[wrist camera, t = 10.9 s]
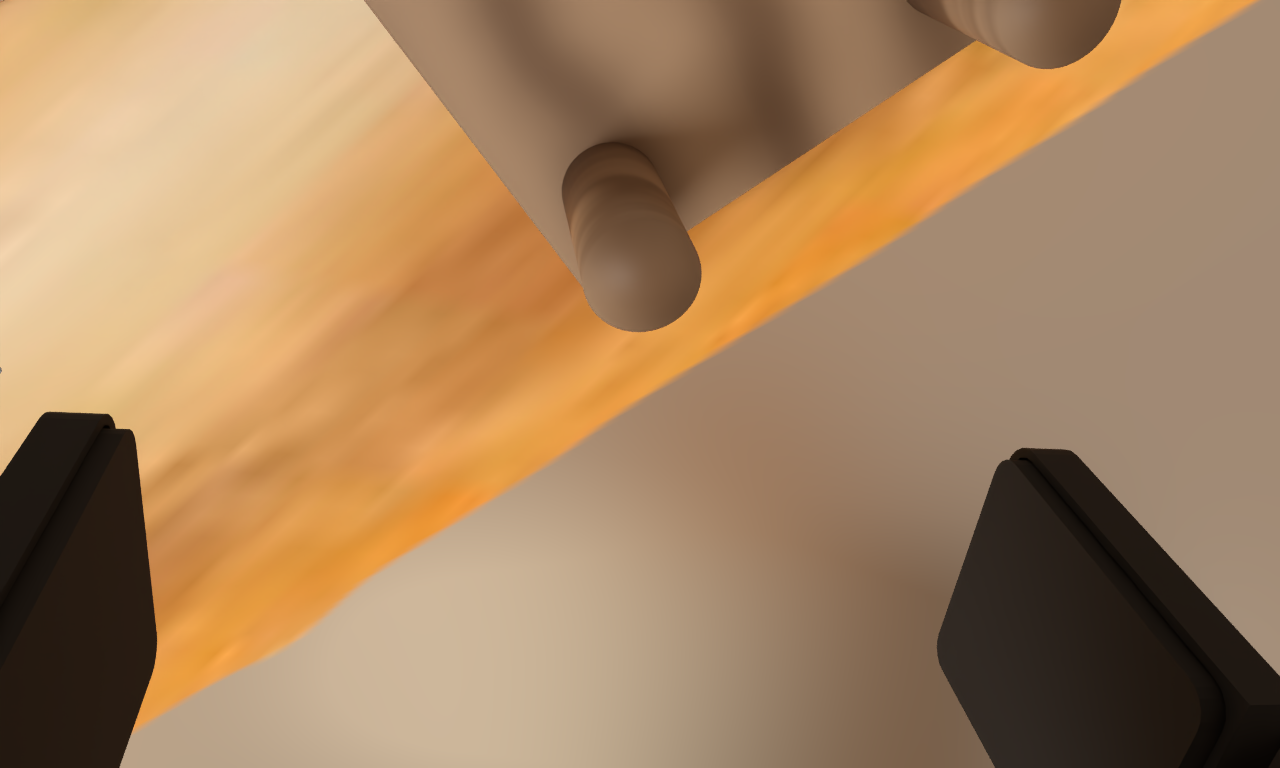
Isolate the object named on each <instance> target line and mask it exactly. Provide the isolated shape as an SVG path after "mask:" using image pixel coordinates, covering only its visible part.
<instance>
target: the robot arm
mask: <svg viewBox="0 0 1280 768" xmlns="http://www.w3.org/2000/svg"><path fill="white" fill-rule="evenodd" d="M1 1H3V0H0V2H1ZM156 651H157V632H156V623H155V614H154V604H153V595H152V586H151V577H150V568H149V559H148V550H147V541H146V531H145V522H144V513H143V504H142V495H141V486H140V477H139V468H138V458H137V449H136V442H135V437H134V434H133V432H132V431H131V430H130V429H116V428H115V423H114V421H113V419H112V417H111V416H110V415H109V414H93V413H66V412H46V413H44V414H43V415H42V416H41V417H40V418H39V420H38V421H37V423H36V424H35V426H34V427H33V429H32V430H31V432H30V433H29V435H28V436H27V438H26V439H25V441H24V442H23V444H22V445H21V446H20V448H19V449H18V451H17V452H16V454H15V455H14V457H13V458H12V460H11V461H10V463H9V464H8V466H7V467H6V469H5V470H4V472H3V473H2V475H1V476H0V768H119V767H120V764H121V761H122V758H123V755H124V753H125V750H126V747H127V744H128V741H129V738H130V736H131V733H132V730H133V727H134V724H135V721H136V718H137V716H138V713H139V710H140V707H141V704H142V701H143V698H144V696H145V693H146V690H147V687H148V684H149V681H150V679H151V676H152V672H153V669H154V664H155V659H156ZM937 652H938V659H939V663H940V666H941V668H942V670H943V672H944V674H945V676H946V678H947V679H948V681H949V683H950V685H951V687H952V689H953V691H954V693H955V694H956V696H957V698H958V700H959V702H960V704H961V705H962V707H963V709H964V711H965V713H966V715H967V717H968V718H969V720H970V722H971V724H972V726H973V728H974V729H975V731H976V733H977V735H978V737H979V739H980V740H981V742H982V744H983V746H984V748H985V750H986V752H987V753H988V755H989V757H990V759H991V760H992V763H993V764H994V766H995V768H1280V676H1279V675H1278V674H1277V673H1276V672H1275V671H1274V670H1273V668H1272V667H1271V666H1270V665H1269V664H1268V663H1267V662H1266V661H1265V660H1264V659H1263V658H1262V656H1261V655H1260V654H1259V653H1258V652H1257V651H1256V650H1255V649H1254V648H1253V647H1252V646H1251V645H1250V643H1249V642H1248V641H1247V640H1246V639H1245V638H1244V637H1243V636H1242V635H1241V634H1240V633H1239V631H1238V630H1236V628H1235V627H1234V626H1233V625H1232V624H1231V623H1230V622H1229V621H1228V619H1226V617H1225V616H1224V615H1223V614H1222V613H1221V612H1220V611H1219V610H1218V609H1217V607H1216V606H1215V605H1214V604H1213V603H1212V602H1211V601H1210V600H1209V599H1208V598H1207V597H1206V596H1205V594H1204V593H1203V592H1202V591H1201V590H1200V589H1199V588H1198V587H1197V586H1196V585H1195V584H1194V582H1193V581H1192V580H1191V579H1190V578H1189V577H1188V576H1187V575H1186V574H1185V573H1184V572H1183V570H1182V569H1181V568H1180V567H1179V566H1178V565H1177V564H1176V563H1175V562H1174V561H1173V560H1172V559H1171V558H1170V556H1169V555H1168V554H1167V553H1166V552H1165V551H1164V550H1163V549H1162V548H1161V547H1160V545H1159V544H1158V543H1157V542H1156V541H1155V540H1154V539H1153V538H1152V537H1151V536H1150V535H1149V534H1148V532H1147V531H1146V530H1145V529H1144V528H1143V527H1142V526H1141V525H1140V524H1139V523H1138V521H1137V520H1136V519H1135V518H1134V517H1133V516H1132V515H1131V514H1130V513H1129V512H1128V511H1127V509H1126V508H1125V507H1124V506H1123V505H1122V504H1121V503H1120V502H1119V501H1118V500H1117V499H1116V497H1115V496H1114V495H1113V494H1112V493H1111V492H1110V491H1109V490H1108V489H1107V488H1106V487H1105V486H1104V484H1103V483H1102V482H1101V481H1100V480H1099V479H1098V478H1097V477H1096V476H1095V475H1094V474H1093V472H1092V471H1091V470H1090V469H1089V468H1088V467H1087V466H1086V465H1085V464H1084V463H1083V462H1082V460H1081V459H1080V458H1079V457H1078V456H1077V455H1076V454H1074V453H1073V452H1072V451H1069V450H1062V449H1035V448H1021V449H1019V450H1017V451H1016V452H1015V453H1014V454H1013V455H1012V456H1011V458H1010V460H1005V461H1002V462H1001V463H1000V464H999V465H998V467H997V469H996V471H995V474H994V476H993V479H992V482H991V485H990V488H989V491H988V494H987V497H986V499H985V502H984V505H983V508H982V511H981V514H980V517H979V520H978V523H977V526H976V529H975V531H974V534H973V537H972V540H971V543H970V546H969V549H968V551H967V555H966V557H965V560H964V563H963V566H962V569H961V572H960V575H959V577H958V580H957V583H956V586H955V589H954V592H953V595H952V598H951V601H950V604H949V606H948V609H947V612H946V615H945V618H944V621H943V624H942V627H941V629H940V632H939V636H938V641H937Z"/></svg>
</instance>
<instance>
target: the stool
mask: <svg viewBox="0 0 1280 768" xmlns="http://www.w3.org/2000/svg"><path fill="white" fill-rule="evenodd" d="M364 1H365V2H366V3H367V5H368V6H369V7H370V9H371V10H372V11H373V13H374V14H375V15H376V17H377V18H378V19H379V21H380V22H381V23H382V24H383V26H384V27H385V28H386V30H387V31H388V32H389V34H390V35H391V36H392V38H393V39H394V40H395V42H396V43H397V44H398V45H399V47H400V48H401V49H402V51H403V52H404V53H405V55H406V56H407V57H408V59H409V60H410V61H411V63H412V64H413V65H414V66H415V68H416V69H417V70H418V72H419V73H420V74H421V76H422V77H423V78H424V80H425V81H426V82H427V84H428V85H429V86H430V87H431V89H432V90H433V91H434V93H435V94H436V95H437V97H438V98H439V99H440V101H441V102H442V103H443V105H444V106H445V107H446V108H447V110H448V111H449V112H450V114H451V115H452V116H453V118H454V119H455V120H456V122H457V123H458V124H459V126H460V127H461V128H462V129H463V131H464V132H465V133H466V135H467V136H468V137H469V139H470V140H471V141H472V143H473V144H474V145H475V147H476V148H477V149H478V150H479V152H480V153H481V154H482V156H483V157H484V158H485V160H486V161H487V162H488V164H489V165H490V166H491V168H492V169H493V170H494V171H495V173H496V174H497V175H498V177H499V178H500V179H501V181H502V182H503V183H504V185H505V186H506V187H507V189H508V190H509V191H510V192H511V194H512V195H513V196H514V198H515V199H516V200H517V202H518V203H519V204H520V206H521V207H522V208H523V210H524V211H525V212H526V213H527V215H528V216H529V217H530V219H531V220H532V221H533V223H534V224H535V225H536V227H537V228H538V229H539V231H540V232H541V233H542V234H543V236H544V237H545V238H546V240H547V241H548V242H549V244H550V245H551V246H552V248H553V249H554V250H555V252H556V253H557V254H558V255H559V257H560V258H561V259H562V261H563V262H564V263H565V265H566V266H567V267H568V269H569V270H570V271H571V273H572V274H573V275H574V276H575V278H576V279H577V280H578V282H579V283H580V284H581V286H582V287H583V290H584V293H585V297H586V299H587V301H588V304H589V305H590V307H591V308H592V310H593V311H594V312H595V314H596V315H597V316H598V317H599V318H601V319H602V320H603V321H604V322H606V323H607V324H609V325H611V326H613V327H615V328H618V329H621V330H625V331H630V332H646V331H652V330H656V329H659V328H662V327H664V326H667V325H669V324H670V323H672V322H674V321H675V320H677V319H678V318H679V317H681V316H682V315H683V314H684V313H685V312H686V311H687V309H688V308H689V307H690V306H691V304H692V303H693V301H694V300H695V297H696V295H697V293H698V290H699V287H700V283H701V264H700V260H699V256H698V254H697V251H696V249H695V247H694V245H693V243H692V241H691V239H690V237H689V235H688V233H687V231H688V230H690V229H691V228H693V227H694V226H696V225H697V224H699V223H700V222H702V221H703V220H705V219H706V218H708V217H709V216H711V215H712V214H714V213H715V212H717V211H718V210H720V209H721V208H723V207H724V206H726V205H727V204H729V203H730V202H732V201H733V200H735V199H736V198H738V197H739V196H741V195H743V194H744V193H746V192H747V191H749V190H750V189H752V188H753V187H755V186H756V185H758V184H759V183H761V182H762V181H764V180H765V179H767V178H768V177H770V176H771V175H773V174H774V173H776V172H777V171H779V170H780V169H782V168H783V167H785V166H786V165H788V164H789V163H791V162H792V161H794V160H796V159H797V158H799V157H800V156H802V155H803V154H805V153H806V152H808V151H809V150H811V149H812V148H814V147H815V146H817V145H818V144H820V143H821V142H823V141H824V140H826V139H827V138H829V137H830V136H832V135H833V134H835V133H836V132H838V131H839V130H841V129H842V128H844V127H845V126H847V125H848V124H850V123H852V122H853V121H855V120H856V119H858V118H859V117H861V116H862V115H864V114H865V113H867V112H868V111H870V110H871V109H873V108H874V107H876V106H877V105H879V104H880V103H882V102H883V101H885V100H886V99H888V98H889V97H891V96H892V95H894V94H895V93H897V92H898V91H900V90H901V89H903V88H905V87H906V86H908V85H909V84H911V83H912V82H914V81H915V80H917V79H918V78H920V77H921V76H923V75H924V74H926V73H927V72H929V71H930V70H932V69H933V68H935V67H936V66H938V65H939V64H941V63H942V62H944V61H945V60H947V59H948V58H950V57H951V56H953V55H954V54H956V53H957V52H959V51H961V50H962V49H964V48H965V47H967V46H968V45H970V44H971V43H973V42H974V41H976V40H977V41H979V42H981V43H983V44H985V45H987V46H989V47H991V48H993V49H995V50H997V51H999V52H1001V53H1003V54H1006V55H1008V56H1010V57H1012V58H1014V59H1016V60H1018V61H1020V62H1022V63H1024V64H1026V65H1028V66H1031V67H1034V68H1040V69H1054V68H1060V67H1063V66H1067V65H1069V64H1071V63H1074V62H1076V61H1078V60H1079V59H1081V58H1083V57H1084V56H1085V55H1087V54H1088V53H1090V52H1091V51H1092V50H1093V49H1094V48H1095V47H1096V46H1097V45H1098V44H1099V43H1100V42H1101V41H1102V40H1103V38H1104V37H1105V36H1106V34H1107V33H1108V31H1109V30H1110V28H1111V26H1112V25H1113V23H1114V20H1115V18H1116V16H1117V13H1118V10H1119V7H1120V3H1121V0H364Z"/></svg>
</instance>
